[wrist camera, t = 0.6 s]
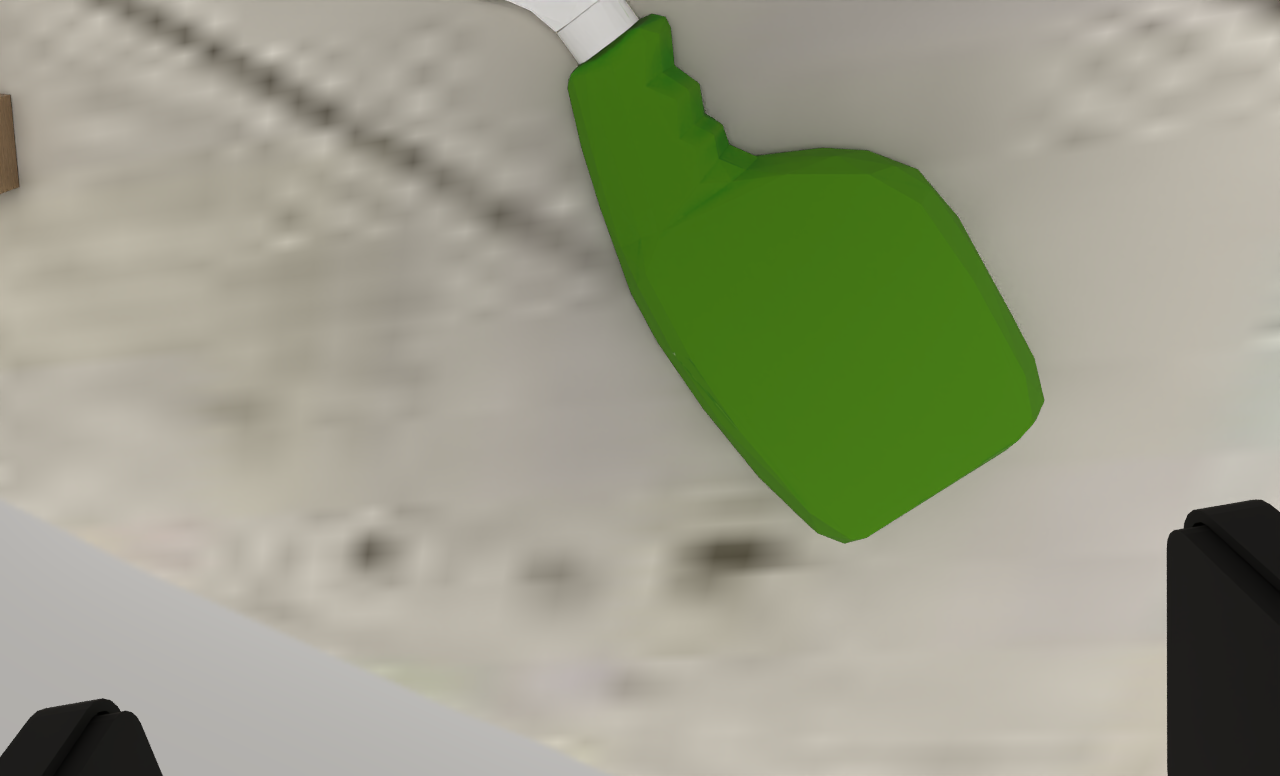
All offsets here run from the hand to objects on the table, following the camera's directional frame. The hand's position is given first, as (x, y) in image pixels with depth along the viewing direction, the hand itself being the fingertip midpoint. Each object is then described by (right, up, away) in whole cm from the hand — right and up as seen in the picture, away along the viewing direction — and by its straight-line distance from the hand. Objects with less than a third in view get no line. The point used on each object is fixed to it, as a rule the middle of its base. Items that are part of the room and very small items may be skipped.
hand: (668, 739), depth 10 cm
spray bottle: (+4, +10, +29) cm, 30 cm away
